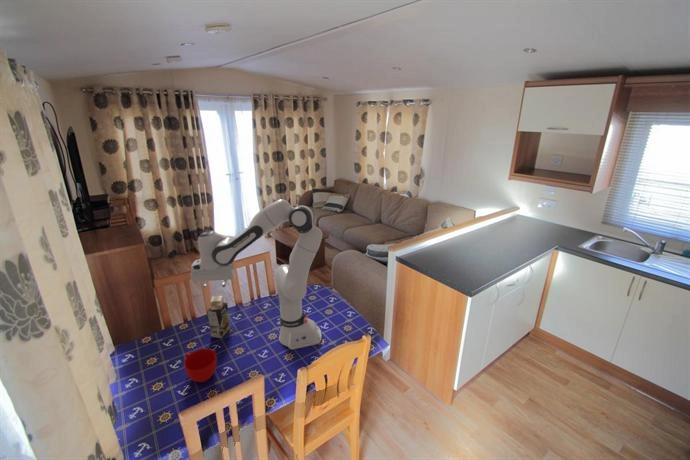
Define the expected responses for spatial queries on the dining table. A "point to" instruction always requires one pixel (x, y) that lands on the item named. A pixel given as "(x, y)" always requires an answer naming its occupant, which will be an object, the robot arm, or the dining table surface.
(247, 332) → the dining table surface
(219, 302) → the maple cube
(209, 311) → the coffee box
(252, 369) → the dining table surface
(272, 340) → the dining table surface
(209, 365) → the ceramic cup
